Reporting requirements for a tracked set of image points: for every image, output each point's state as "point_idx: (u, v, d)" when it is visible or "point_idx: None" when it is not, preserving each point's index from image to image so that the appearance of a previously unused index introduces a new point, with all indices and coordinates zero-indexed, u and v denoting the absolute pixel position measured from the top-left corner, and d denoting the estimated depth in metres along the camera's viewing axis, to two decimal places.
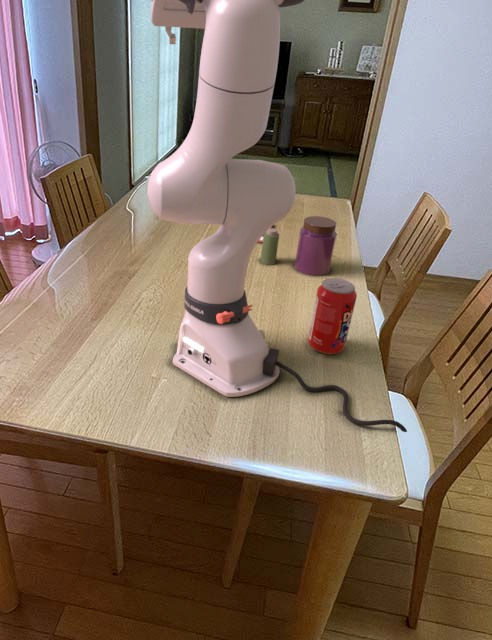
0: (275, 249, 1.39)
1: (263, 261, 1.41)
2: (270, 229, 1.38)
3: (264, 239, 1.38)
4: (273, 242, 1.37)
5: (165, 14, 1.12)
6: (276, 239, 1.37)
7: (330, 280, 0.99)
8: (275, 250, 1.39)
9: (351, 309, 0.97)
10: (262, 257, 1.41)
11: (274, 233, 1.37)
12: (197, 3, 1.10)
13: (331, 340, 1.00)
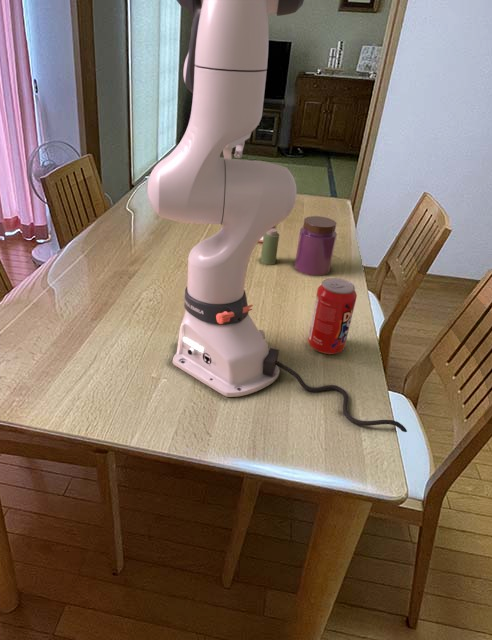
0: (275, 249, 1.39)
1: (263, 261, 1.41)
2: (270, 229, 1.38)
3: (264, 239, 1.38)
4: (273, 242, 1.37)
5: None
6: (276, 239, 1.37)
7: (330, 280, 0.99)
8: (275, 250, 1.39)
9: (351, 309, 0.97)
10: (262, 257, 1.41)
11: (274, 233, 1.37)
12: None
13: (331, 340, 1.00)
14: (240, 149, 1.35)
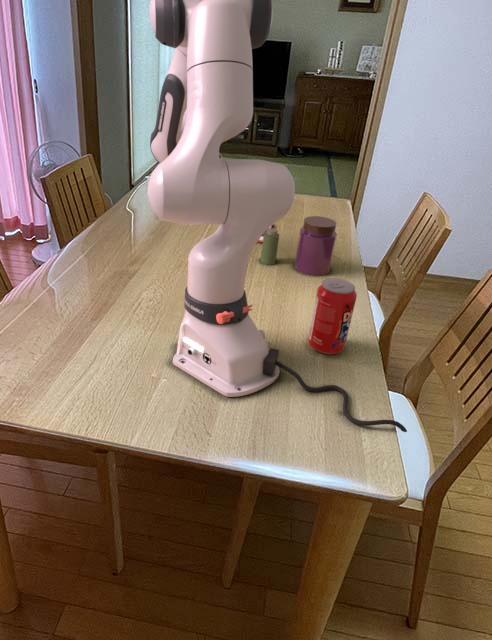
0: (275, 249, 1.39)
1: (263, 261, 1.41)
2: (270, 229, 1.38)
3: (264, 239, 1.38)
4: (273, 242, 1.37)
5: None
6: (276, 239, 1.37)
7: (330, 280, 0.99)
8: (275, 250, 1.39)
9: (351, 309, 0.97)
10: (262, 257, 1.41)
11: (274, 233, 1.37)
12: None
13: (331, 340, 1.00)
14: None
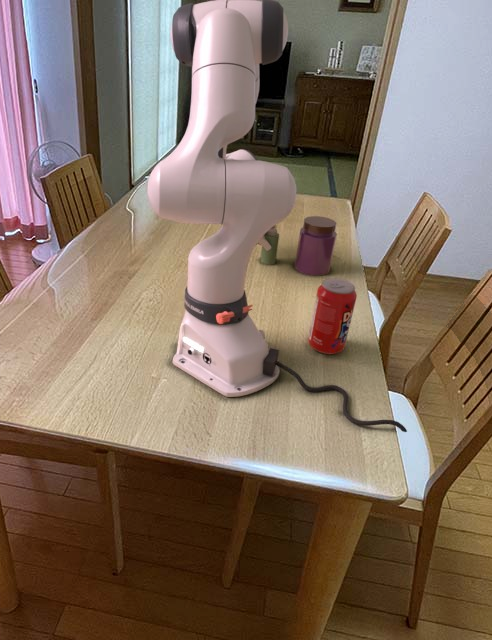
0: (275, 249, 1.39)
1: (263, 261, 1.41)
2: (270, 229, 1.38)
3: None
4: (273, 242, 1.37)
5: None
6: (276, 239, 1.37)
7: (330, 280, 0.99)
8: (275, 250, 1.39)
9: (351, 309, 0.97)
10: (262, 257, 1.41)
11: (274, 233, 1.37)
12: None
13: (331, 340, 1.00)
14: None
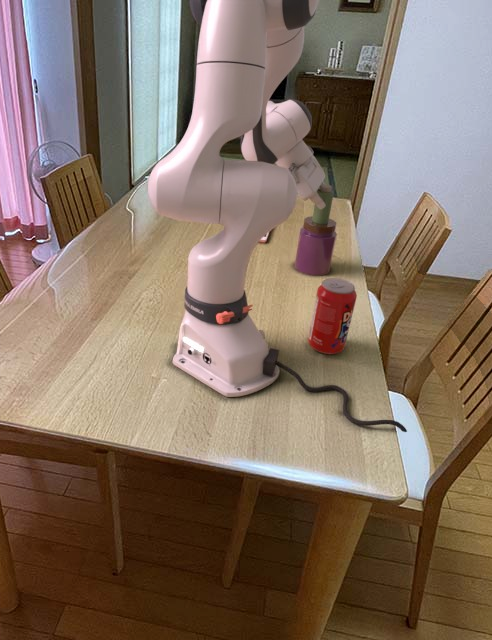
0: (329, 207, 1.29)
1: (315, 221, 1.31)
2: (324, 185, 1.28)
3: None
4: (328, 199, 1.27)
5: (310, 181, 1.22)
6: (331, 196, 1.27)
7: (330, 280, 0.99)
8: (329, 208, 1.29)
9: (351, 309, 0.97)
10: (314, 216, 1.31)
11: (329, 189, 1.27)
12: (311, 161, 1.26)
13: (331, 340, 1.00)
14: None
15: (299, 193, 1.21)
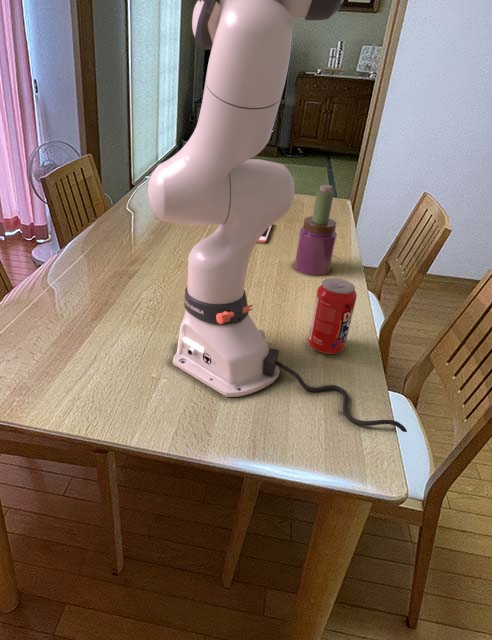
0: (329, 207, 1.29)
1: (315, 221, 1.31)
2: (324, 185, 1.28)
3: (318, 196, 1.28)
4: (328, 199, 1.27)
5: None
6: (331, 196, 1.27)
7: (330, 280, 0.99)
8: (329, 208, 1.29)
9: (351, 309, 0.97)
10: (314, 216, 1.31)
11: (329, 189, 1.27)
12: None
13: (331, 340, 1.00)
14: None
15: None
